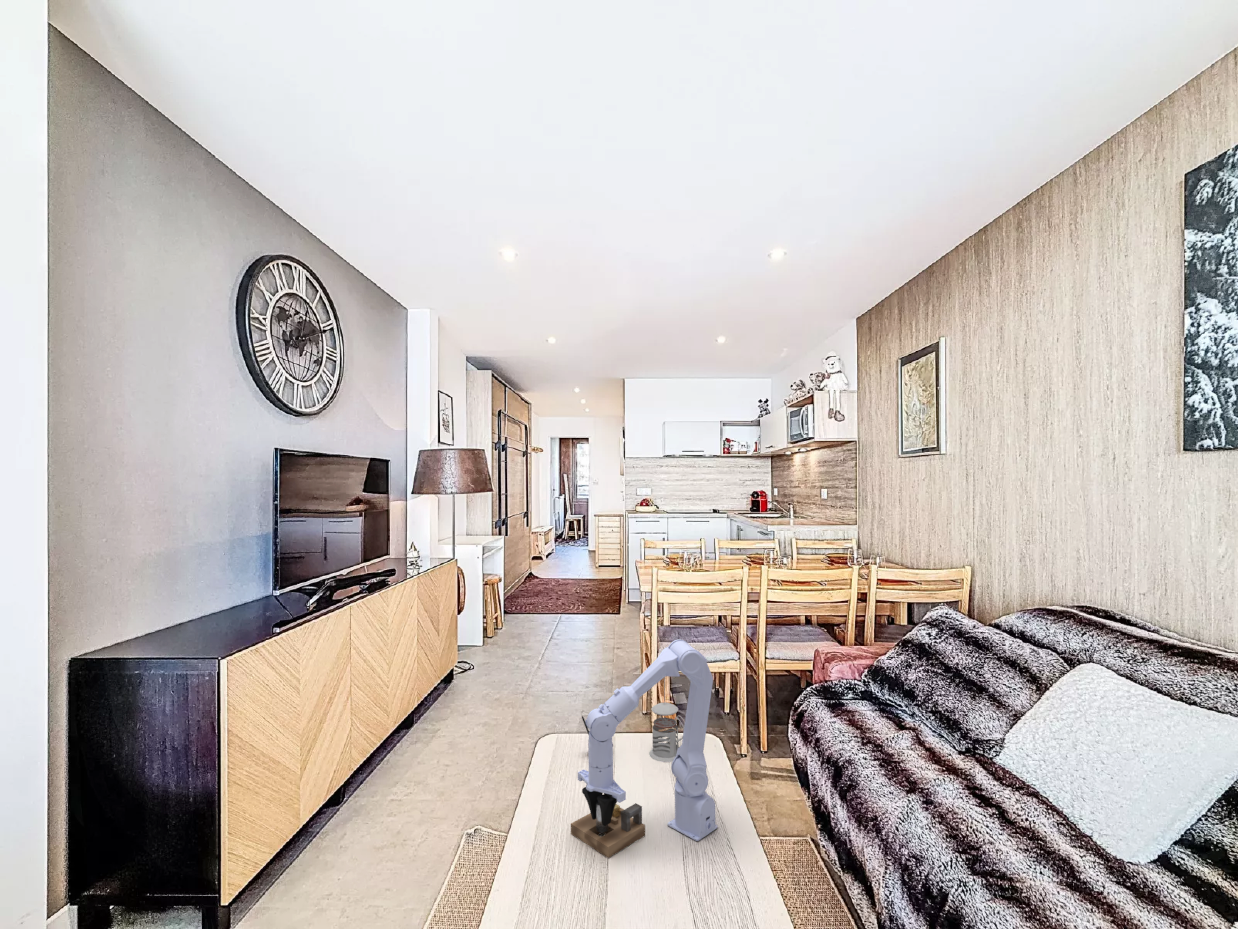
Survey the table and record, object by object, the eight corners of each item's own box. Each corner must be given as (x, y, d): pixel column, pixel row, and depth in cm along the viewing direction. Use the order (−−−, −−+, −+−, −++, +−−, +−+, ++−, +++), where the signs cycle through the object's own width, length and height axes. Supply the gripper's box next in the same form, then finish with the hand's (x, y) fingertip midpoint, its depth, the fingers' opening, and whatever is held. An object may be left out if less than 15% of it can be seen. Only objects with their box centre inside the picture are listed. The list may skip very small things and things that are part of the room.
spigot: (611, 827, 147) (611, 802, 147) (604, 833, 144) (604, 807, 144) (600, 823, 149) (600, 798, 149) (593, 829, 146) (593, 804, 146)
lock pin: (620, 814, 152) (620, 804, 152) (613, 819, 150) (612, 808, 150) (598, 802, 158) (598, 792, 158) (590, 806, 156) (590, 795, 156)
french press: (658, 744, 196) (657, 664, 196) (692, 752, 190) (691, 670, 190) (643, 757, 187) (642, 673, 187) (678, 766, 181) (677, 680, 181)
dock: (645, 835, 148) (644, 808, 148) (608, 858, 140) (608, 829, 140) (607, 813, 157) (607, 788, 157) (570, 834, 149) (570, 806, 149)
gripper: (567, 758, 149) (568, 815, 149) (609, 779, 138) (610, 841, 138) (589, 748, 154) (590, 803, 154) (632, 768, 143) (632, 828, 143)
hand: (601, 820), depth 146 cm, fingers closed on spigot, 3 cm apart
